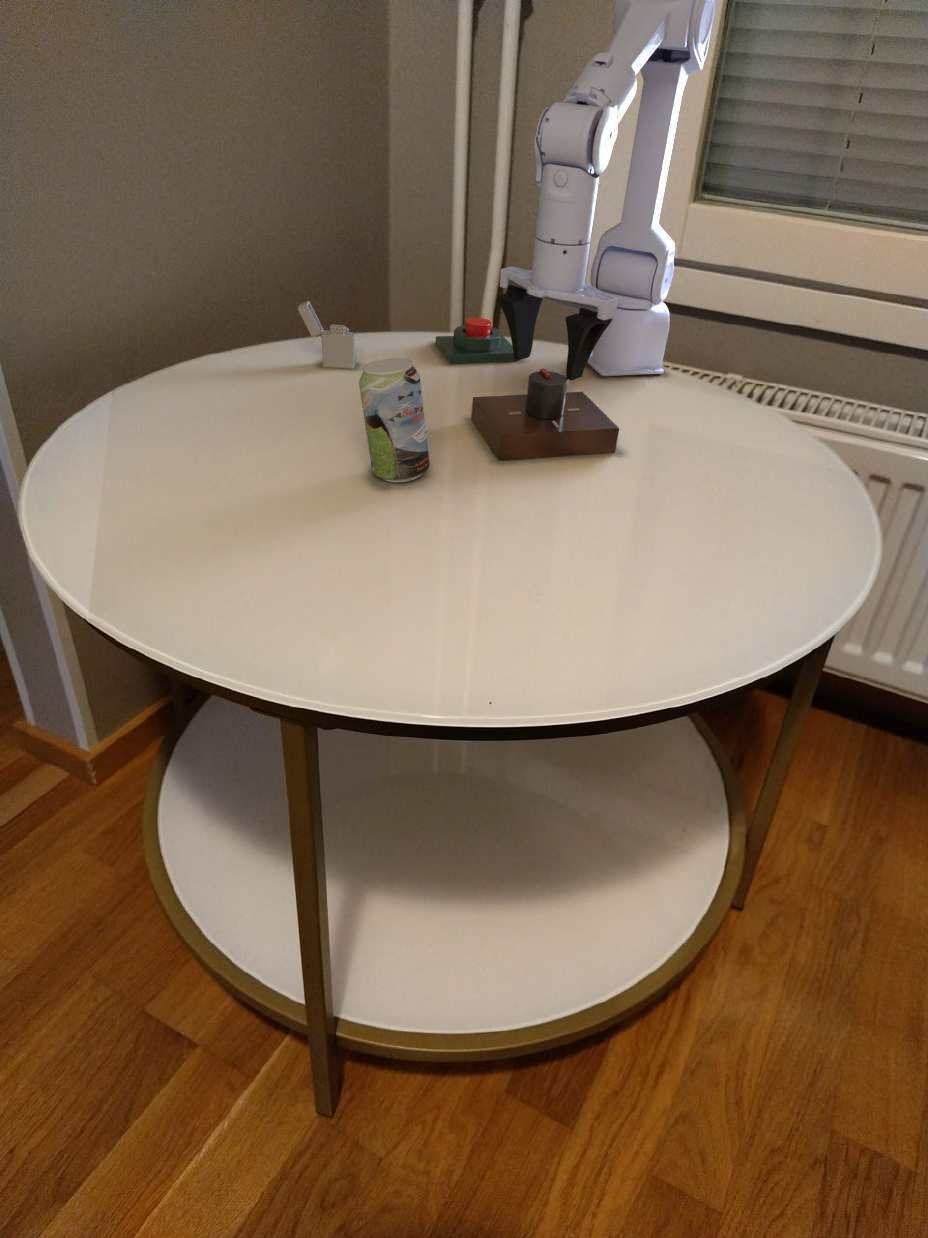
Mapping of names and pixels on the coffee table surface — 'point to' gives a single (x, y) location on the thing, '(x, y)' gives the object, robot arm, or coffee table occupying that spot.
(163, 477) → the coffee table surface
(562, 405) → the dial
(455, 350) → the button box
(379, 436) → the beverage can
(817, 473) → the coffee table surface
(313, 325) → the lighter
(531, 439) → the dial panel
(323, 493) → the coffee table surface
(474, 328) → the button
